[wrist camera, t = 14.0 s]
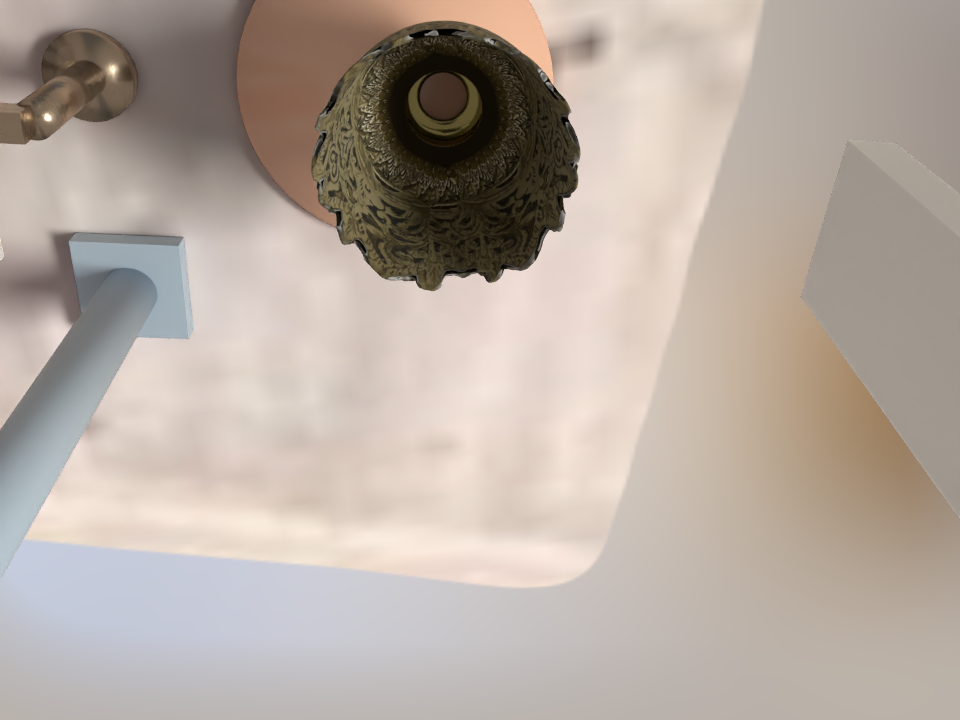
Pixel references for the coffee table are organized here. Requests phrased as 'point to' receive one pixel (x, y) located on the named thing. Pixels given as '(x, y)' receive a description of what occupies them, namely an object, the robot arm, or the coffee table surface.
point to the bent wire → (73, 87)
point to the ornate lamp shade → (445, 157)
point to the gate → (87, 363)
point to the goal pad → (345, 69)
